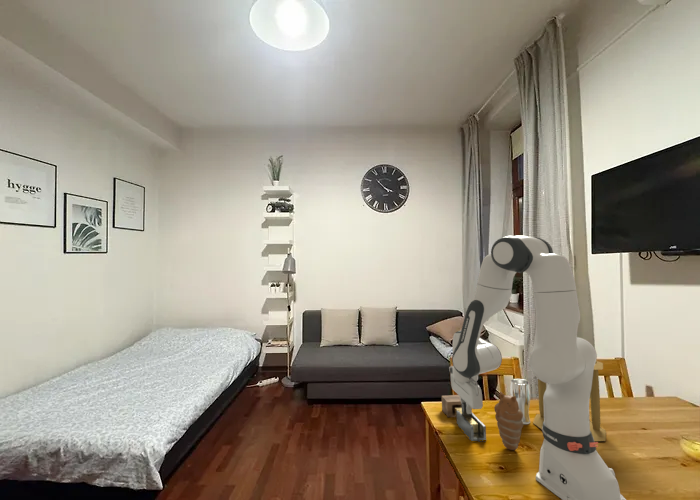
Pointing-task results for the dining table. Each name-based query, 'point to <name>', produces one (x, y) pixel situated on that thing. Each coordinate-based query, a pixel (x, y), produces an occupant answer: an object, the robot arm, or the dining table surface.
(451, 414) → the socket
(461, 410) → the tan grey t-shaped block
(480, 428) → the grey track with slider
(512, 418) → the cat ice cream
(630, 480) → the dining table surface
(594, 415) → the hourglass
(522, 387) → the silver cup
